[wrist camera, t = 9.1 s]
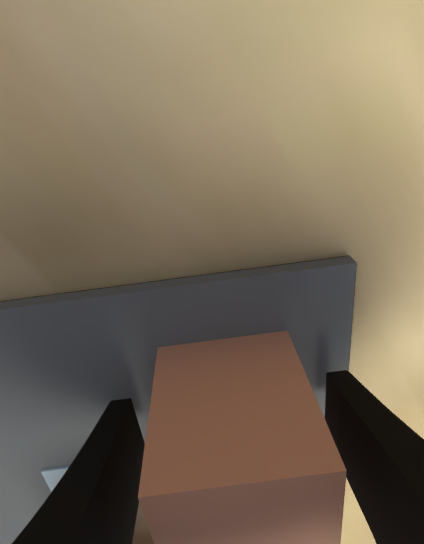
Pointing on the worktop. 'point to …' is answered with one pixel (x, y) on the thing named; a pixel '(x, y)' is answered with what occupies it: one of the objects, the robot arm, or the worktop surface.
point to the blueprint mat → (142, 356)
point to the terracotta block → (239, 448)
